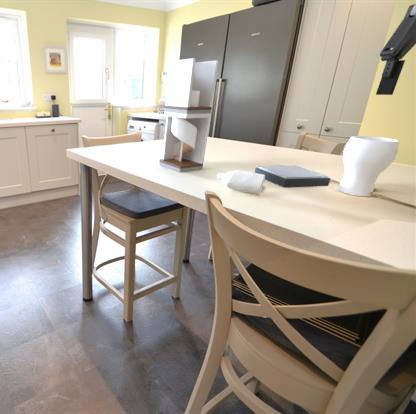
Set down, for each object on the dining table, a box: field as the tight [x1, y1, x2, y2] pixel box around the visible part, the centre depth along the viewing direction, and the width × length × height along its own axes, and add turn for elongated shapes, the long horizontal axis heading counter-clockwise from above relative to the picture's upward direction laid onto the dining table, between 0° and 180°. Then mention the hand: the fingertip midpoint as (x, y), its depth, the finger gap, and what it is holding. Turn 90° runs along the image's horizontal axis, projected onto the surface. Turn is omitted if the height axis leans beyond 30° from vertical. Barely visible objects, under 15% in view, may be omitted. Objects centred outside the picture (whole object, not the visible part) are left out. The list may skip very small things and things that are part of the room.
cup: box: [337, 135, 400, 197], centre depth 78 cm, size 11×11×15 cm
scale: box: [254, 165, 331, 188], centre depth 91 cm, size 16×14×3 cm
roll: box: [216, 169, 266, 196], centre depth 80 cm, size 6×12×6 cm, turn 55°
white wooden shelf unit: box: [158, 57, 220, 173], centre depth 98 cm, size 11×11×35 cm
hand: (406, 95), depth 62 cm, fingers open, 13 cm apart
